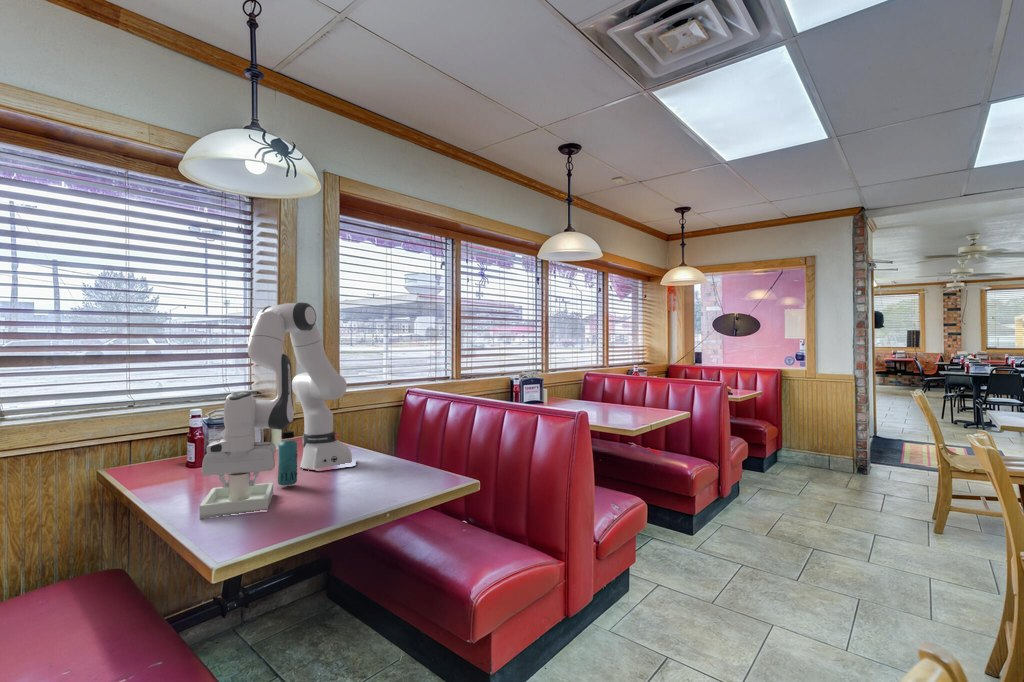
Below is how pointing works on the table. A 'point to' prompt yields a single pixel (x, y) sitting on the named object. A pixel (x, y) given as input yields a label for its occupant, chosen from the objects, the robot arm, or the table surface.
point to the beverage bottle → (287, 460)
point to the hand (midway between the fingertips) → (239, 486)
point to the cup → (239, 486)
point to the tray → (221, 505)
